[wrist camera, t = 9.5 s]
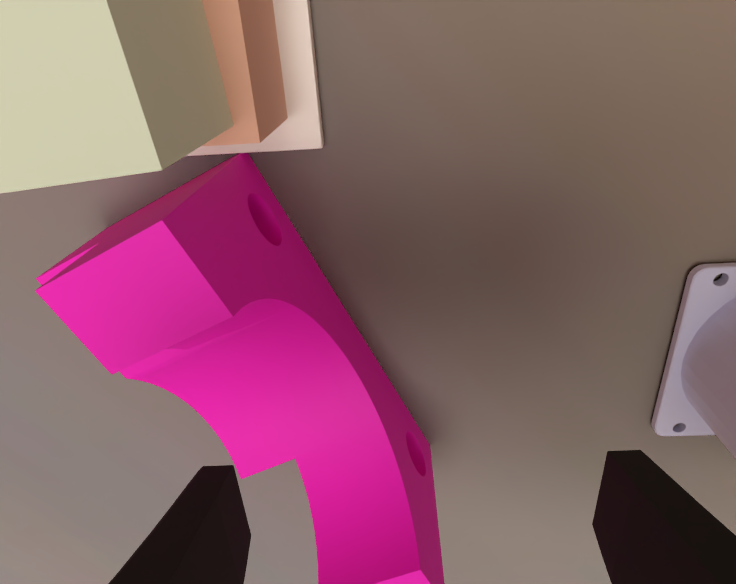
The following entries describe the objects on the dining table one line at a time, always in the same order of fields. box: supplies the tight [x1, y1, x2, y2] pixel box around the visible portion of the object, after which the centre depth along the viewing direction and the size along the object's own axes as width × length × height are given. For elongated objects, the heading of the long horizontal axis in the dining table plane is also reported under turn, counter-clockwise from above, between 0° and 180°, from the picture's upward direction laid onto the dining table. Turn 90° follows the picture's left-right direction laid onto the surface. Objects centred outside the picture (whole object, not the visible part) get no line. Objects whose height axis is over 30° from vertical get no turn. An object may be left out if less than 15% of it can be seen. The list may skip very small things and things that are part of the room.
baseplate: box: [186, 0, 324, 156], centre depth 15 cm, size 8×8×1 cm
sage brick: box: [0, 0, 234, 193], centre depth 10 cm, size 4×4×4 cm
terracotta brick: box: [202, 0, 288, 146], centre depth 13 cm, size 6×6×4 cm
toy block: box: [35, 153, 444, 584], centre depth 18 cm, size 15×6×8 cm, turn 28°
